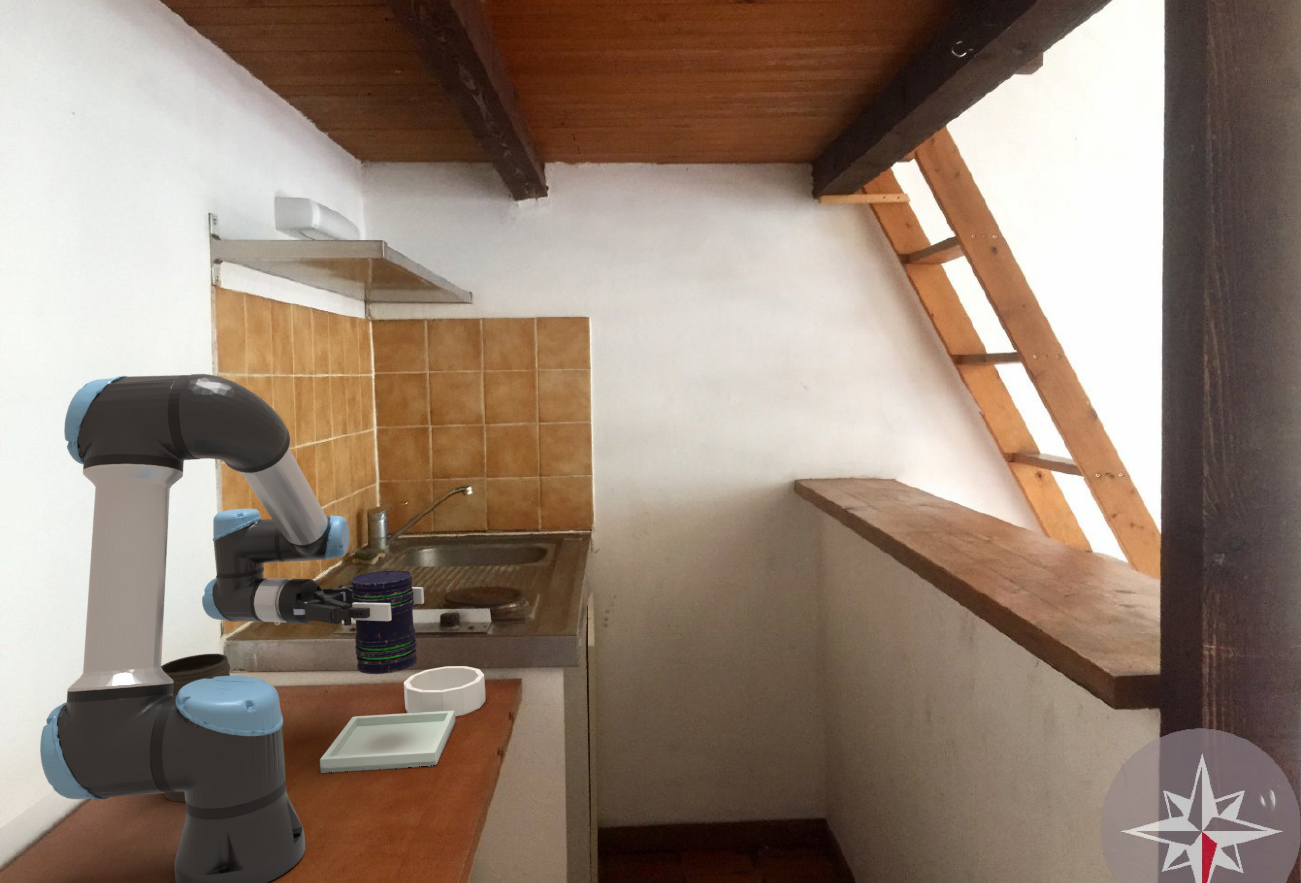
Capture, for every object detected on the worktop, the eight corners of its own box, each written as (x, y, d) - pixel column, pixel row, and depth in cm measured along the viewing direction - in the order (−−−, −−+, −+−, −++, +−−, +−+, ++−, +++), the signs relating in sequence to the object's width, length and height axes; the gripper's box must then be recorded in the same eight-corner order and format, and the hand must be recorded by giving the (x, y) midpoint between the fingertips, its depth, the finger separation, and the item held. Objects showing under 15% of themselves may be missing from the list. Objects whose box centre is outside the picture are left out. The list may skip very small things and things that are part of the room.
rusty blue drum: (406, 673, 142) (401, 582, 141) (347, 675, 142) (341, 584, 141) (425, 654, 152) (420, 569, 151) (369, 655, 152) (363, 571, 151)
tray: (435, 766, 139) (435, 752, 139) (320, 773, 138) (319, 759, 138) (455, 722, 157) (454, 710, 157) (353, 728, 156) (352, 716, 156)
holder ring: (442, 724, 156) (440, 697, 156) (390, 710, 165) (388, 684, 164) (500, 698, 168) (498, 673, 168) (448, 686, 176) (447, 662, 176)
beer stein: (259, 770, 140) (242, 648, 139) (220, 802, 129) (201, 670, 128) (170, 776, 142) (152, 655, 141) (124, 808, 131) (104, 678, 130)
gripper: (330, 605, 162) (440, 608, 156) (246, 641, 140) (370, 646, 134) (328, 565, 161) (437, 566, 156) (243, 595, 139) (367, 598, 134)
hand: (406, 603), depth 145 cm, fingers closed on rusty blue drum, 10 cm apart
